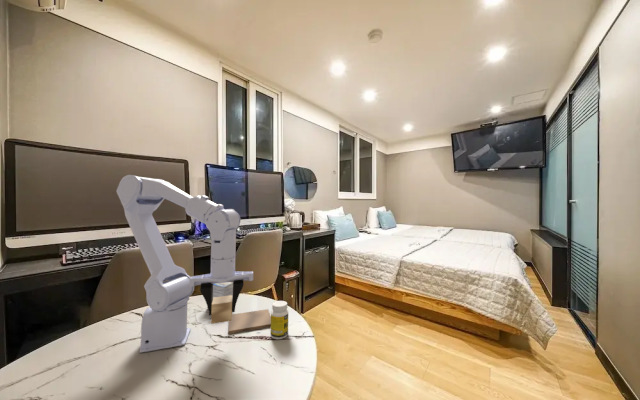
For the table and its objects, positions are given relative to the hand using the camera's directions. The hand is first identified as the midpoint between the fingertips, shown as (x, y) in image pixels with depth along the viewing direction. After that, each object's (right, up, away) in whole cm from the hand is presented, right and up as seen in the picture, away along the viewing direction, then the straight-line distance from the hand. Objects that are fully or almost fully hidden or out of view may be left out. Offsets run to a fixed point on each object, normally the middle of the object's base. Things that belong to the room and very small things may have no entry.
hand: (222, 311), depth 57 cm
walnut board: (+3, -9, +12) cm, 15 cm away
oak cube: (0, -1, 0) cm, 1 cm away
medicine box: (-10, -9, +21) cm, 25 cm away
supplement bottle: (+13, -9, +5) cm, 17 cm away
